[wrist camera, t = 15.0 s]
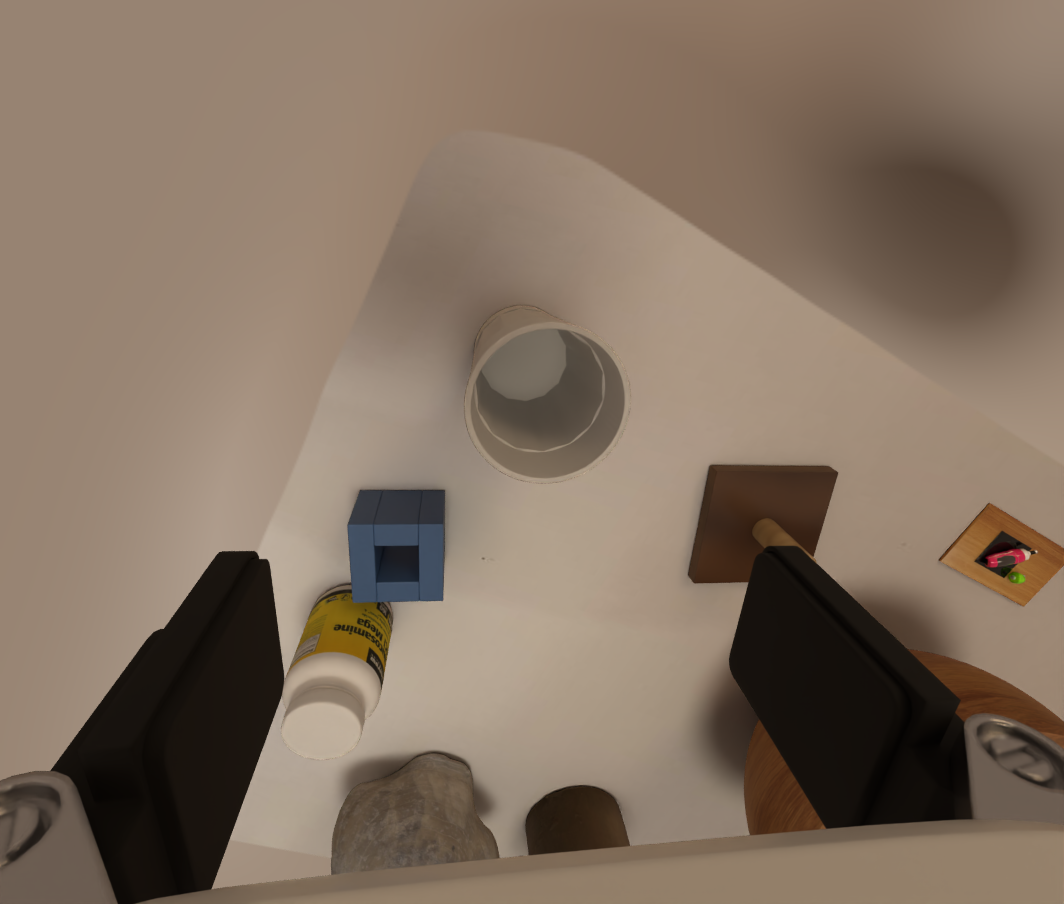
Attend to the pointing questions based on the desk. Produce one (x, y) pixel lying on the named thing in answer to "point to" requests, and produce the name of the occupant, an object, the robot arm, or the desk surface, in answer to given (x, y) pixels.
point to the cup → (544, 396)
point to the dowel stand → (757, 517)
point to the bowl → (786, 807)
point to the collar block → (397, 546)
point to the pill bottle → (335, 675)
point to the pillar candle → (575, 822)
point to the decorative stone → (411, 820)
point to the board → (1005, 555)
